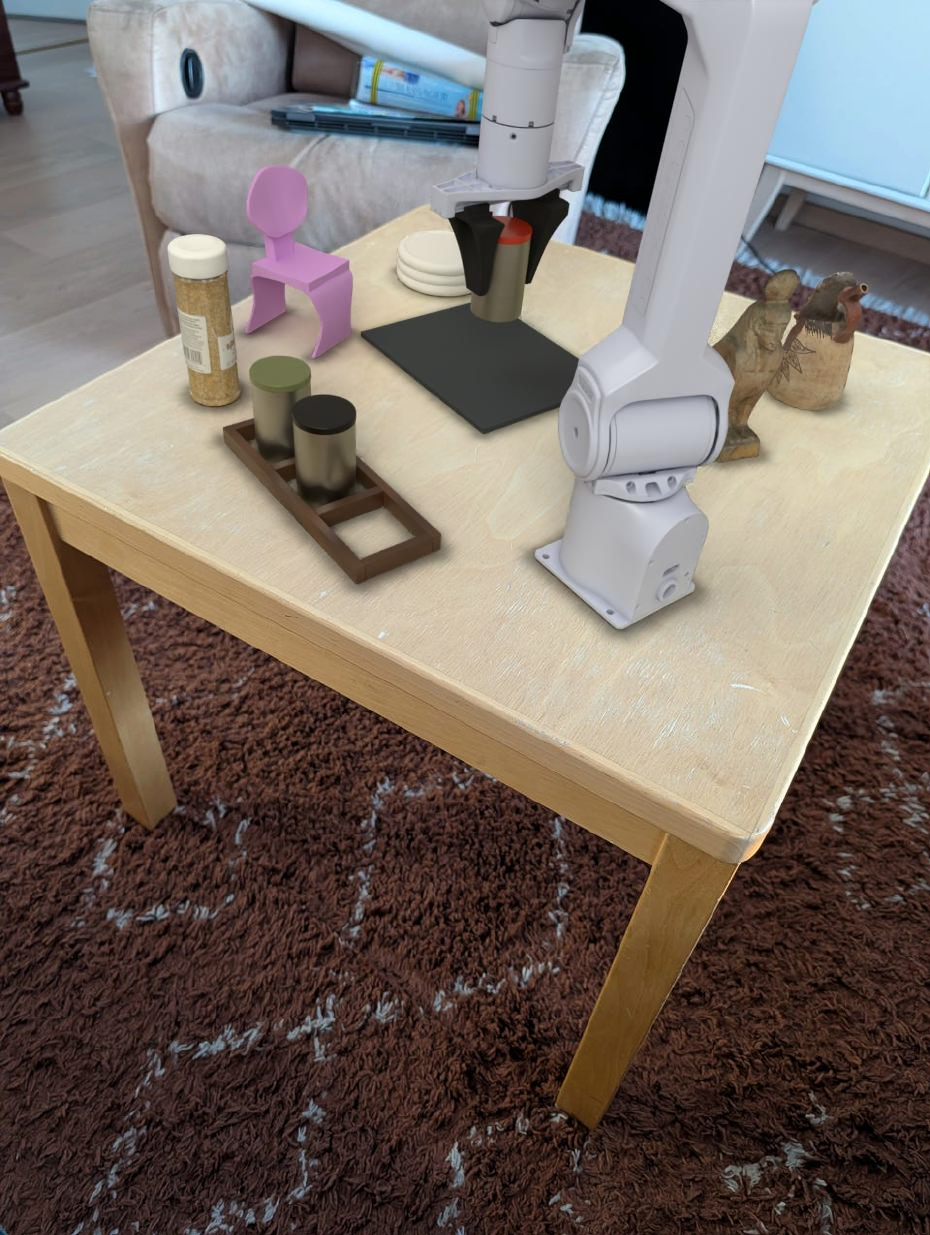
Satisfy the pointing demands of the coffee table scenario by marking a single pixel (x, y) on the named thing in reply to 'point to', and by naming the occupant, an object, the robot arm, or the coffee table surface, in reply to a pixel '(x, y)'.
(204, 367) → the sprinkles bottle
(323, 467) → the cylinder
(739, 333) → the brown carved statuette
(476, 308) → the paprika tin
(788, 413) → the coffee table surface
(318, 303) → the toy chair
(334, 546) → the spice rack
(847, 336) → the figurine
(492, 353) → the mat
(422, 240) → the cream round stack
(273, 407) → the herb tin
